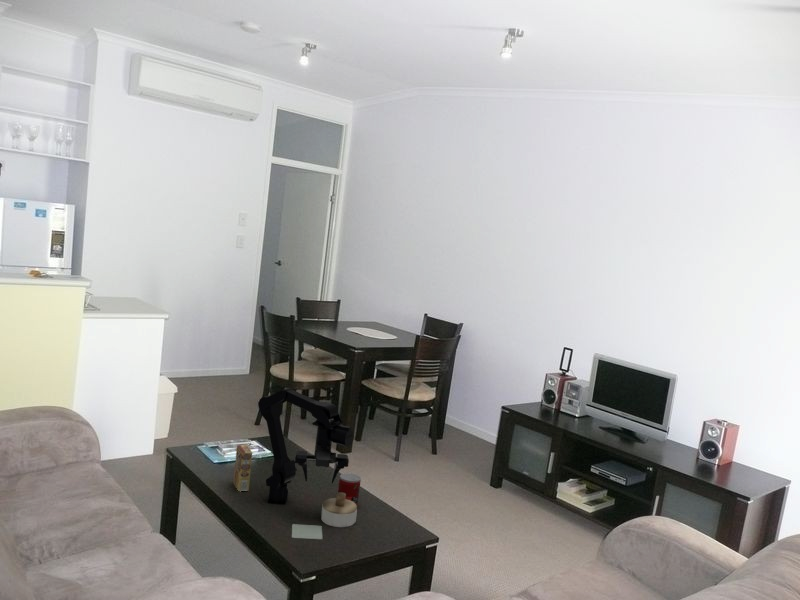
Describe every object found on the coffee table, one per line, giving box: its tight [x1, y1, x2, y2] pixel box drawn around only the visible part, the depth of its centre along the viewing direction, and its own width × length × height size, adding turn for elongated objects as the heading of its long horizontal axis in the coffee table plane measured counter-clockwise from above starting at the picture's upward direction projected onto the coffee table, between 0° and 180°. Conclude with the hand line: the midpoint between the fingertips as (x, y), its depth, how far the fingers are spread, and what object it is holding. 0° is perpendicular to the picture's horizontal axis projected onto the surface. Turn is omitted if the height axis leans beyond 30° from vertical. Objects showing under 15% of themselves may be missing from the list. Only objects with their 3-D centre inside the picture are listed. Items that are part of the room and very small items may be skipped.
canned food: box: [337, 472, 362, 506], centre depth 254 cm, size 8×8×11 cm
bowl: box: [320, 504, 358, 528], centre depth 240 cm, size 12×12×5 cm
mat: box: [291, 523, 323, 540], centre depth 228 cm, size 10×10×1 cm
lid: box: [322, 491, 358, 514], centre depth 240 cm, size 12×12×5 cm
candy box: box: [233, 444, 253, 493], centre depth 258 cm, size 9×4×15 cm, turn 27°
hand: (319, 482), depth 242 cm, fingers open, 9 cm apart
